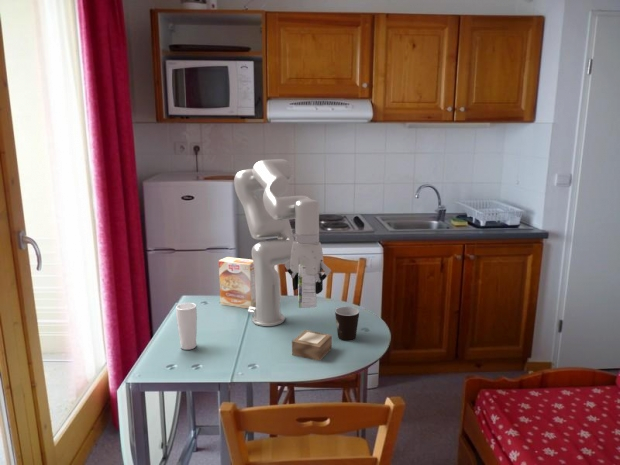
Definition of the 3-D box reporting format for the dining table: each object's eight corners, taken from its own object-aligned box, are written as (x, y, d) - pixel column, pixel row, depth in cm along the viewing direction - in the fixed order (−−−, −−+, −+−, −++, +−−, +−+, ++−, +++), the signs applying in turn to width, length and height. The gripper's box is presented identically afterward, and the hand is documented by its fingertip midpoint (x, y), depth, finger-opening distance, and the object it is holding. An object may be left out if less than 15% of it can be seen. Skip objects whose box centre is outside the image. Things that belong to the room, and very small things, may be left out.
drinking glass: (181, 353, 165) (178, 311, 161) (176, 345, 171) (173, 304, 167) (201, 348, 168) (198, 307, 165) (195, 341, 174) (193, 301, 170)
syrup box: (297, 302, 164) (297, 260, 161) (315, 301, 164) (315, 259, 161) (298, 308, 158) (298, 265, 155) (317, 307, 159) (316, 264, 156)
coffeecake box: (220, 304, 209) (217, 260, 204) (228, 299, 215) (226, 256, 211) (251, 309, 203) (249, 264, 199) (259, 303, 210) (258, 259, 205)
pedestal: (292, 354, 163) (292, 340, 162) (305, 342, 172) (305, 329, 171) (319, 360, 159) (319, 346, 158) (331, 348, 168) (331, 334, 167)
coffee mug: (357, 343, 171) (357, 316, 169) (333, 341, 173) (333, 314, 171) (360, 329, 183) (361, 304, 180) (337, 328, 184) (338, 302, 182)
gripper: (277, 237, 157) (278, 290, 161) (326, 243, 149) (326, 298, 153) (289, 233, 164) (290, 283, 167) (337, 238, 156) (336, 291, 160)
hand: (307, 290), depth 160 cm, fingers closed on syrup box, 7 cm apart
